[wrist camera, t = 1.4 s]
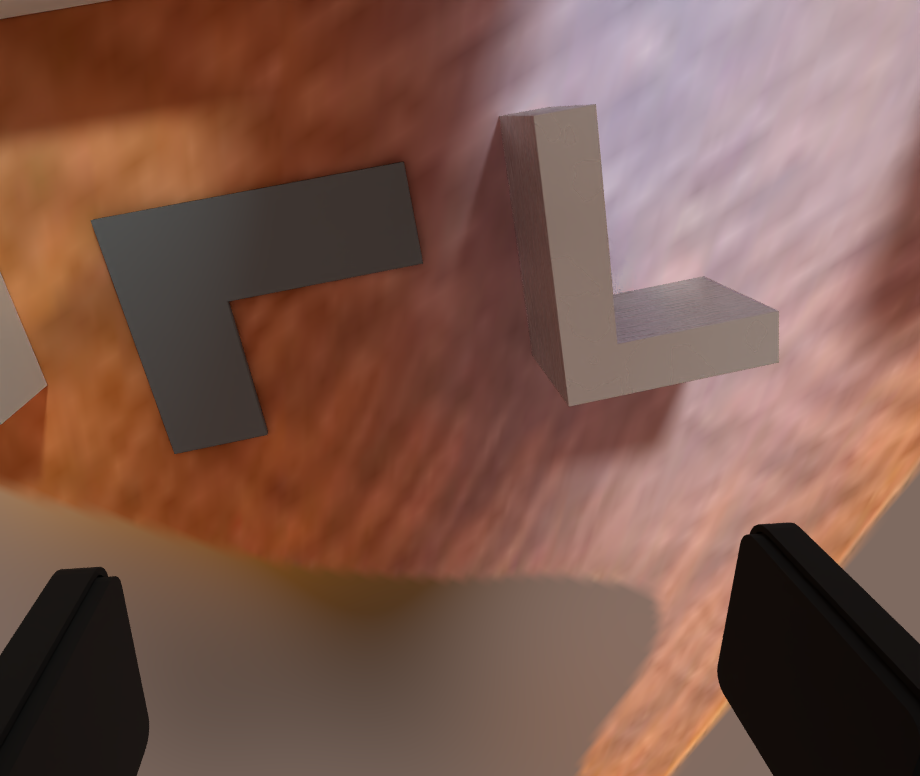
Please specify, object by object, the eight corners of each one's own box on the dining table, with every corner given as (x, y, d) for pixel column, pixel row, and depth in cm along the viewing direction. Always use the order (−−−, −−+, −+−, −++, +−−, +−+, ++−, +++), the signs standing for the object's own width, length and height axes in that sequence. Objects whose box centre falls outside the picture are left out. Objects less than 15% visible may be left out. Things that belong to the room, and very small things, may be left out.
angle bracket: (499, 116, 28) (533, 115, 22) (696, 79, 28) (778, 70, 23) (532, 355, 31) (569, 406, 26) (705, 319, 32) (778, 362, 26)
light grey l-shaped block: (411, -105, 25) (419, -144, 21) (477, 299, 30) (493, 324, 26) (-171, -10, 24) (-270, -33, 20) (7, 392, 29) (-45, 433, 25)
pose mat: (403, 161, 28) (403, 162, 27) (447, 394, 31) (448, 397, 31) (93, 219, 27) (90, 220, 27) (176, 451, 31) (174, 454, 30)
